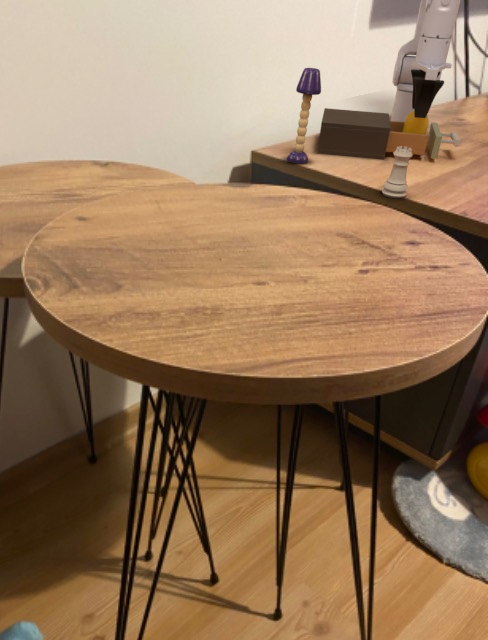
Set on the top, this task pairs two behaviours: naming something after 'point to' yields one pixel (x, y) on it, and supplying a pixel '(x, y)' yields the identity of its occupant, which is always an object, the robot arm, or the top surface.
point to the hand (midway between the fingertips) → (418, 113)
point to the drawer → (419, 139)
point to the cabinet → (354, 133)
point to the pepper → (415, 124)
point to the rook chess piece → (398, 174)
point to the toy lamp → (305, 111)
